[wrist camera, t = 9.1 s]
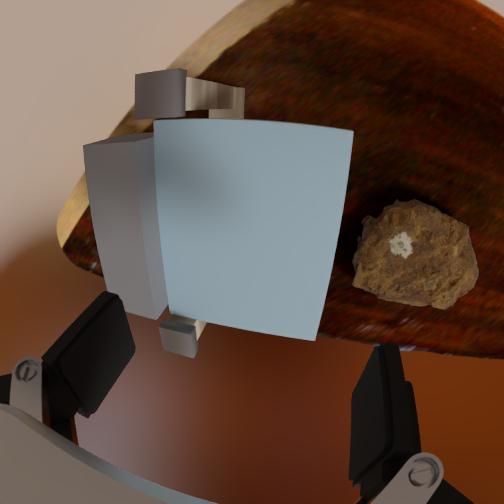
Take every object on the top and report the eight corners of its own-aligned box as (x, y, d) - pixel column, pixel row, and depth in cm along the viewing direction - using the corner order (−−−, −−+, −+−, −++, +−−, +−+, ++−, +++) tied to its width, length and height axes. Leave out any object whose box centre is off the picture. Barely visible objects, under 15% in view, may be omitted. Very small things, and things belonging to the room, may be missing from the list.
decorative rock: (488, 223, 24) (371, 180, 26) (505, 237, 20) (378, 189, 22) (449, 309, 29) (339, 281, 31) (459, 330, 25) (339, 302, 27)
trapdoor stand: (245, 85, 23) (181, 68, 12) (238, 272, 32) (196, 358, 21) (213, 85, 24) (132, 75, 12) (212, 268, 33) (161, 349, 22)
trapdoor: (347, 128, 16) (358, 134, 11) (316, 314, 22) (312, 361, 18) (128, 120, 18) (82, 129, 14) (145, 283, 25) (115, 317, 21)
